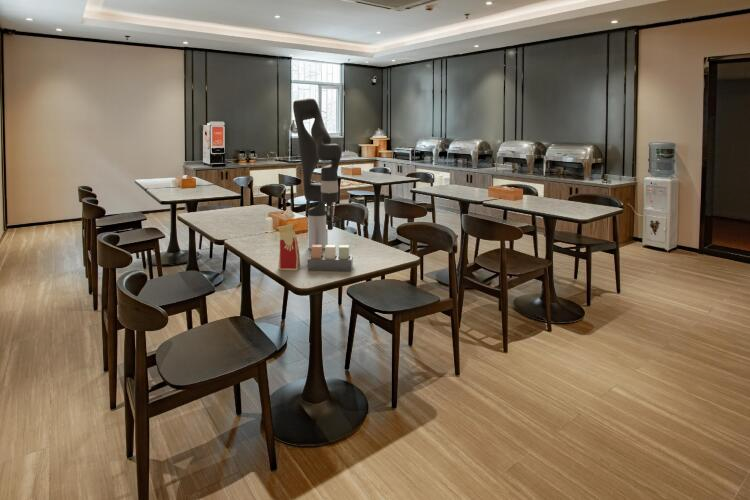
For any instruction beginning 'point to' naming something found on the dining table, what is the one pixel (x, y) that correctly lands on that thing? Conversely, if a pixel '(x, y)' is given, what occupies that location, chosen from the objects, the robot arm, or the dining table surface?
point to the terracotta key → (316, 251)
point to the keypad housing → (330, 264)
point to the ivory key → (330, 252)
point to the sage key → (344, 252)
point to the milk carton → (288, 249)
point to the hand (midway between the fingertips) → (330, 229)
